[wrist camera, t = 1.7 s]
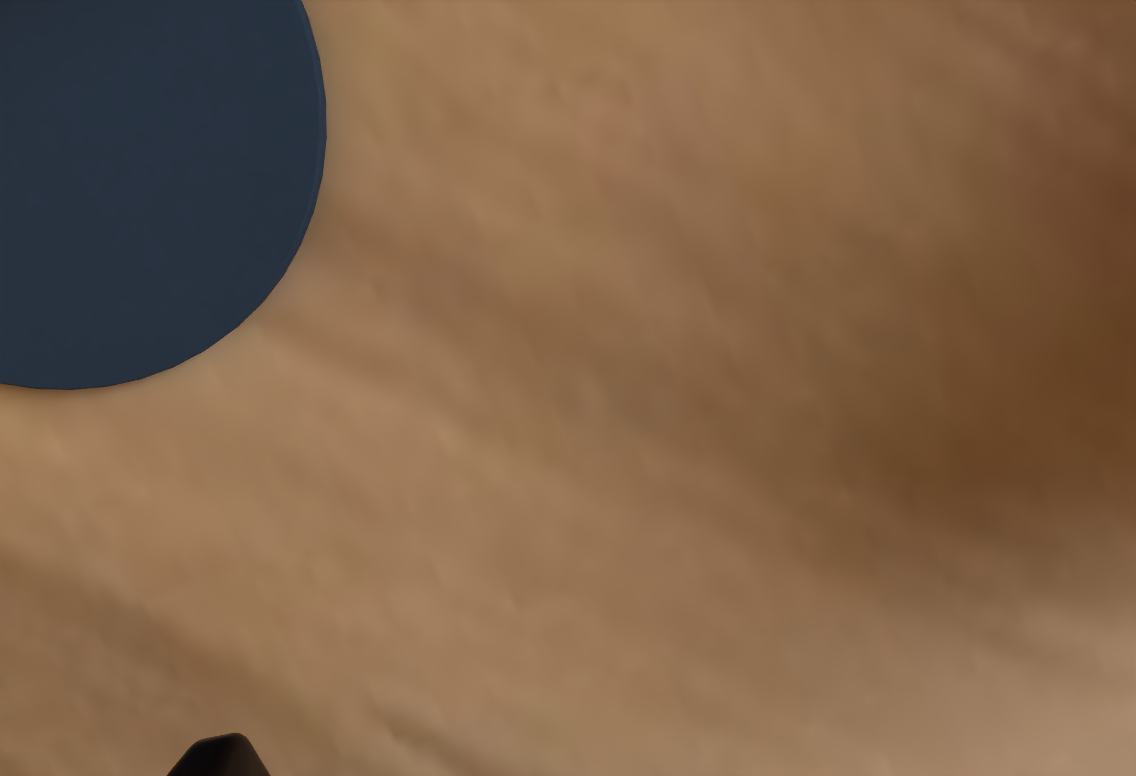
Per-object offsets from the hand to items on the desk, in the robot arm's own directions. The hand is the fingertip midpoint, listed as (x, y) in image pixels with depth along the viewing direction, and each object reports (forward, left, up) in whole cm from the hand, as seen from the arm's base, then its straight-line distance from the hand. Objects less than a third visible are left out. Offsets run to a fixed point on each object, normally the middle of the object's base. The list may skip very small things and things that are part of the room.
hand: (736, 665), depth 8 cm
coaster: (+2, +12, -11) cm, 17 cm away
